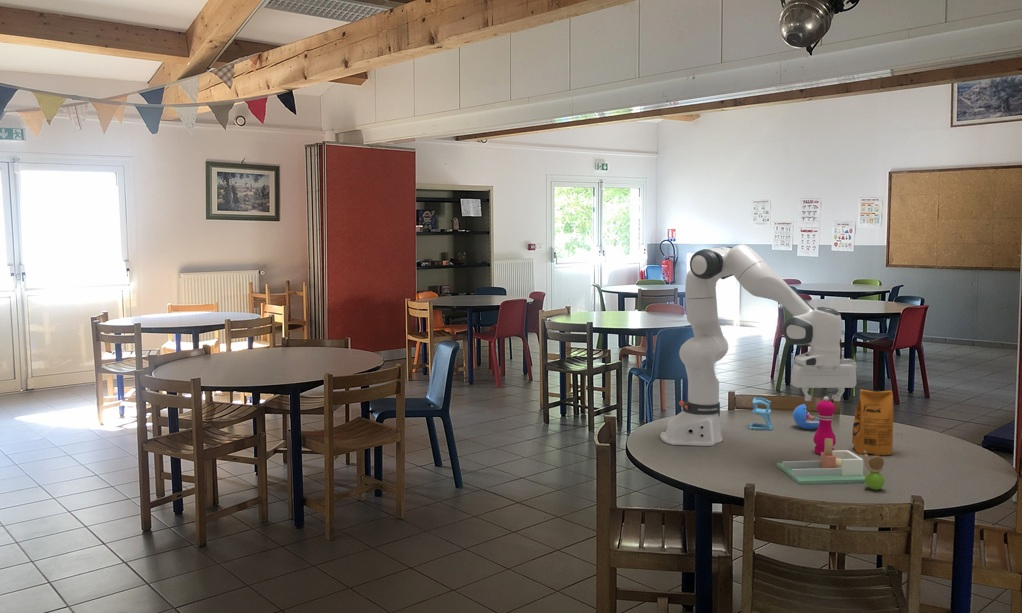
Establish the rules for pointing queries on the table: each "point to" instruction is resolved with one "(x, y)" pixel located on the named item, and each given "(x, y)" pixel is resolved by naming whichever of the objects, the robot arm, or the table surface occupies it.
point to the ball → (838, 463)
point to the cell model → (805, 418)
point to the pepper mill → (824, 424)
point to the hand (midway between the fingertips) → (822, 400)
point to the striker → (828, 455)
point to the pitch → (826, 470)
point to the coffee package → (873, 423)
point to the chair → (762, 414)
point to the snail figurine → (874, 472)
